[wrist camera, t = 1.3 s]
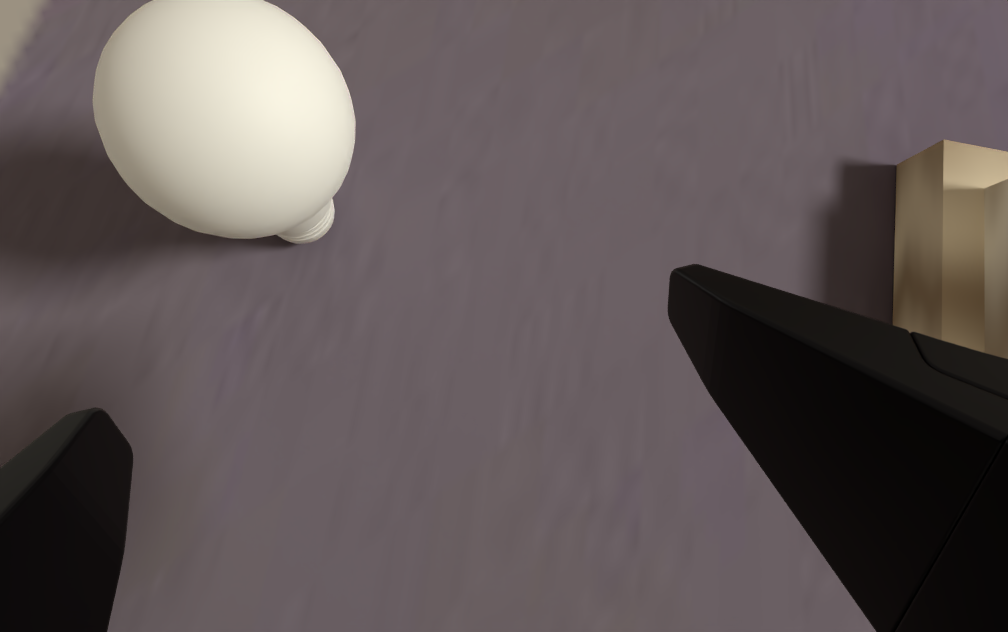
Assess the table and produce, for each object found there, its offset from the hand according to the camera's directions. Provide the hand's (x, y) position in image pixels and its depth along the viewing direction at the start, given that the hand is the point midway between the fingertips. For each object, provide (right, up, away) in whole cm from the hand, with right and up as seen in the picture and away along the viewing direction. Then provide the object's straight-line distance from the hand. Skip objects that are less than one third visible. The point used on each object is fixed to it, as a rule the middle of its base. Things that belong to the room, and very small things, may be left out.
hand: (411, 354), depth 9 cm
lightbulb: (-6, +4, +14) cm, 16 cm away
